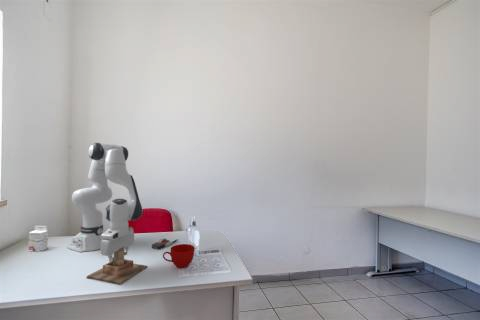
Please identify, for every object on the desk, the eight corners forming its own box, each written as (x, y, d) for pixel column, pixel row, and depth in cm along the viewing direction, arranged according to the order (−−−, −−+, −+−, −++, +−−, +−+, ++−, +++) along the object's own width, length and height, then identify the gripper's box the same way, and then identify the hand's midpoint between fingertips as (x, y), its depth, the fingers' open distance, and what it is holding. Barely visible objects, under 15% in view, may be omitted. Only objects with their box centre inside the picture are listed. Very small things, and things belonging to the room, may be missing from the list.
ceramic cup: (161, 264, 146) (161, 246, 146) (191, 260, 153) (191, 242, 153) (164, 274, 134) (164, 254, 134) (196, 269, 141) (197, 250, 141)
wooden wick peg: (113, 271, 133) (113, 248, 133) (118, 268, 137) (118, 245, 137) (118, 272, 132) (119, 249, 132) (123, 269, 136) (124, 246, 136)
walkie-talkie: (160, 251, 167) (178, 241, 186) (161, 244, 167) (179, 235, 185) (149, 249, 170) (168, 240, 189) (149, 242, 170) (168, 234, 189)
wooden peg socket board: (86, 278, 128) (86, 268, 128) (116, 262, 147) (117, 253, 147) (120, 284, 122) (120, 274, 122) (147, 267, 141) (147, 258, 141)
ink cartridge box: (28, 251, 161) (28, 227, 161) (34, 248, 166) (34, 225, 166) (42, 251, 161) (42, 227, 161) (48, 248, 166) (48, 225, 166)
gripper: (128, 225, 145) (127, 250, 145) (98, 236, 126) (97, 264, 126) (137, 226, 143) (137, 251, 144) (108, 237, 124) (108, 266, 124)
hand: (118, 257), depth 135 cm, fingers open, 8 cm apart
